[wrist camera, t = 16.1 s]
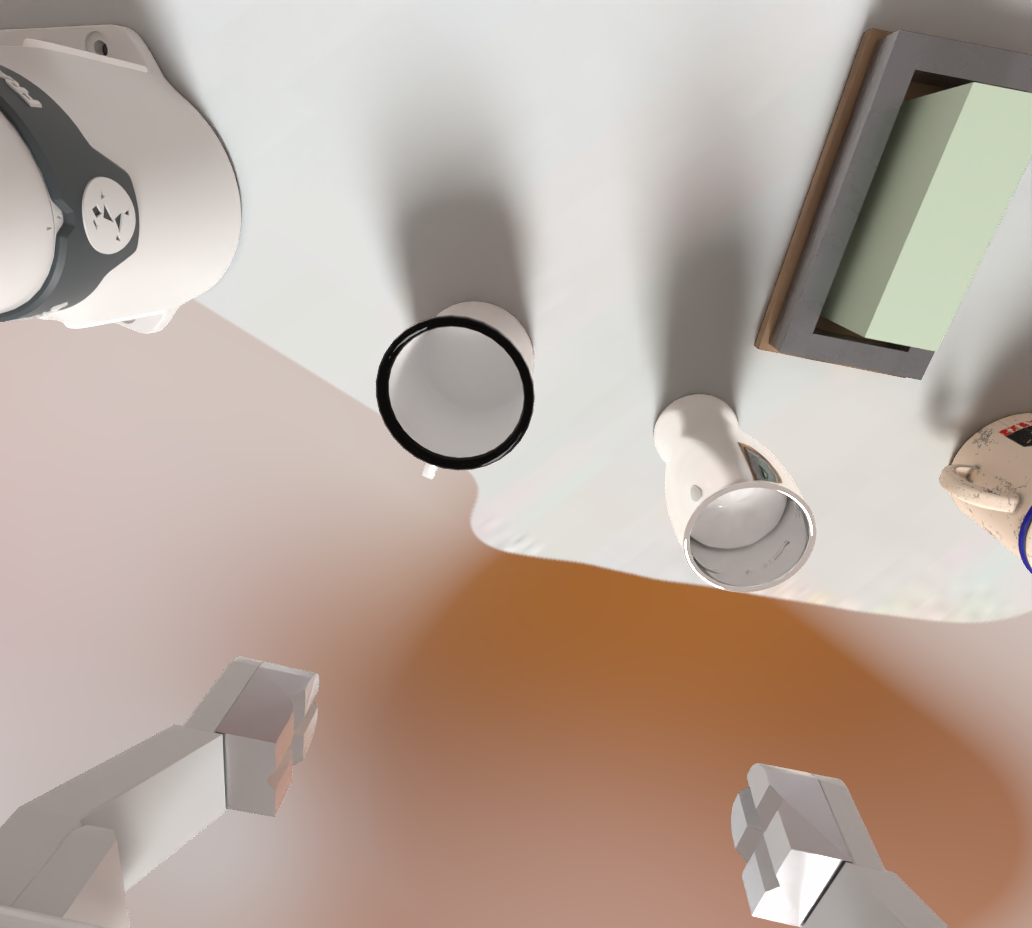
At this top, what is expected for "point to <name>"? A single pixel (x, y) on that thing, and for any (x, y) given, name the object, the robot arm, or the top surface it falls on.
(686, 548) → the white tumbler
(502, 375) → the mug
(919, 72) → the locating frame
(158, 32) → the top surface
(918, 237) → the green bar
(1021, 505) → the teacup with lid
